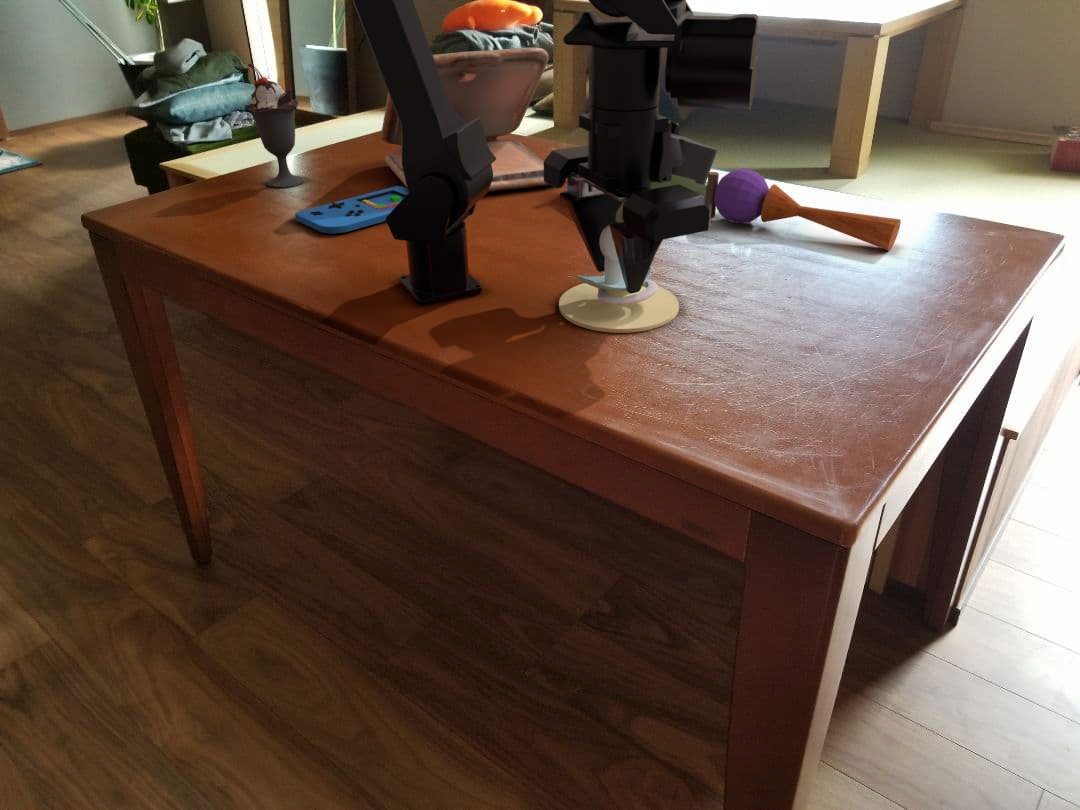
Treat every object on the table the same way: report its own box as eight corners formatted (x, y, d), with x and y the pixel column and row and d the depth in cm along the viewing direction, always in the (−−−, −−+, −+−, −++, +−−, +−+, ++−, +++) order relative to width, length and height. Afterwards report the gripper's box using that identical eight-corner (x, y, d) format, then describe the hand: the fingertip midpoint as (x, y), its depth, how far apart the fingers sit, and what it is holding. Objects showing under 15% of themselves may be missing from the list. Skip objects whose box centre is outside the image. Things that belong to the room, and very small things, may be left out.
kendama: (891, 223, 86) (707, 177, 95) (879, 273, 90) (703, 225, 99) (910, 196, 89) (731, 154, 98) (897, 246, 93) (726, 201, 102)
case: (517, 147, 128) (514, 30, 120) (570, 185, 111) (570, 52, 103) (380, 161, 122) (367, 39, 114) (413, 204, 105) (401, 64, 97)
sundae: (255, 179, 117) (232, 61, 109) (305, 172, 119) (286, 56, 112) (264, 192, 112) (240, 70, 104) (316, 185, 114) (296, 64, 106)
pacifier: (672, 293, 79) (624, 273, 83) (678, 228, 76) (628, 210, 79) (616, 317, 75) (568, 295, 79) (619, 249, 71) (570, 229, 75)
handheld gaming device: (292, 210, 102) (399, 182, 110) (294, 219, 102) (400, 191, 111) (328, 227, 96) (437, 197, 105) (330, 237, 97) (438, 206, 105)
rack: (717, 216, 101) (721, 173, 98) (634, 232, 96) (636, 188, 94) (643, 180, 113) (644, 141, 110) (567, 193, 109) (566, 153, 106)
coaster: (702, 316, 78) (702, 312, 78) (595, 343, 74) (595, 339, 73) (638, 274, 86) (638, 271, 86) (538, 296, 82) (538, 292, 82)
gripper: (776, 115, 66) (754, 301, 74) (647, 74, 81) (639, 234, 89) (653, 133, 62) (643, 328, 70) (539, 87, 77) (542, 254, 85)
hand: (618, 281), depth 79 cm, fingers closed on pacifier, 5 cm apart
